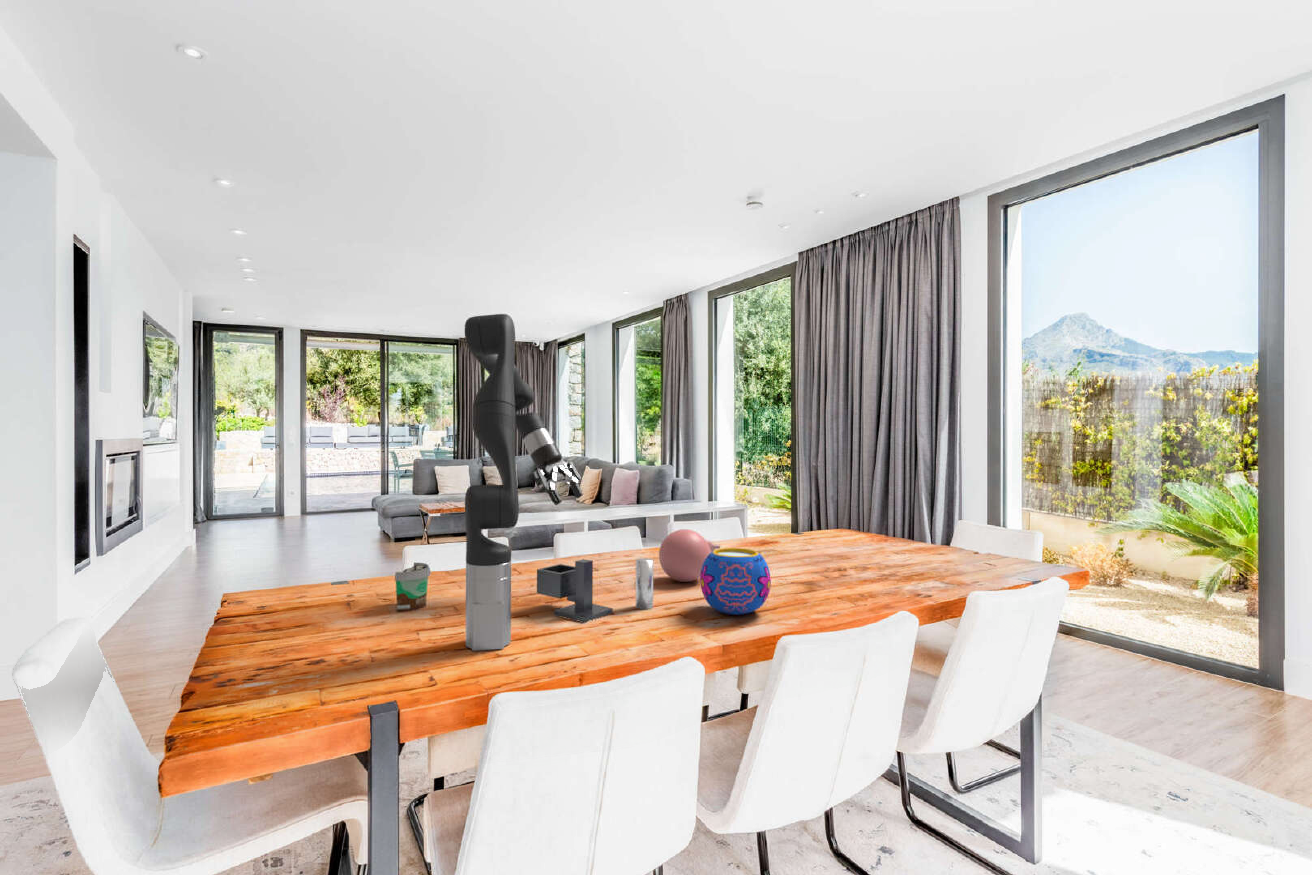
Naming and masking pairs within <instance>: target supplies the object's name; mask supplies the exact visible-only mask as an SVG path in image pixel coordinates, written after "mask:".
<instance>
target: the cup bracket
mask: <svg viewBox="0 0 1312 875" xmlns="http://www.w3.org/2000/svg"><path fill="white" fill-rule="evenodd" d="M574 563H575V565H574V566H573V565H568V564H563V563H559V564H555V565H550V566H546V567H541V568H538V569H536V594H538V595H542V596H547V597H552V598H555V599H559V600H560V599H564V598H566V601H568V602H571V603H572V602H573V603H574V604H570V605H566V606H563V607H560V608H557V609H554V612H553V614H554V616H555V615H556V617H559V616H563V617H566V618H565V619H567V618H570V619H569V620H571V619H573V620H572V621H575V620H579V621H582V622H581V623H583V622H586V623H588V622H587V621H589V620H592V621H594V620H593V619H595V620H597V619H600V618H602V617H601V616H603V617H606V616H608V615H611V614H613V613H614V610H613V609H614V608H613V607H609V606H604V605H599V604H596V603H593V601H594V600H593V586H594V584H593V581H594V580H593V574H594V573H593V572H594V570H593V569H594V561H593V560H590V559H584V558H583V559H579V560H576V561H574ZM563 617H562V618H563ZM599 617H600V618H599ZM596 618H597V619H596ZM579 621H578V622H579ZM589 622H590V621H589Z"/></svg>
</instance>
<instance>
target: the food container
mask: <svg viewBox="0 0 1312 875" xmlns="http://www.w3.org/2000/svg"><path fill="white" fill-rule="evenodd" d="M431 575H432V573H431V567H430V565H429V564H427V563H423V562H413V566H412V567H410V568H406V569H404V570H403V571H395V575H394V581H395V590H396V612H397V613H406V612H412V611H413V610H414V611H417V609H419V610H421V609H420V608H422V609H424V608H425V607H426V606H427V595H428V585H429V584H428V581H429V577H430V576H431ZM423 607H424V608H423Z"/></svg>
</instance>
